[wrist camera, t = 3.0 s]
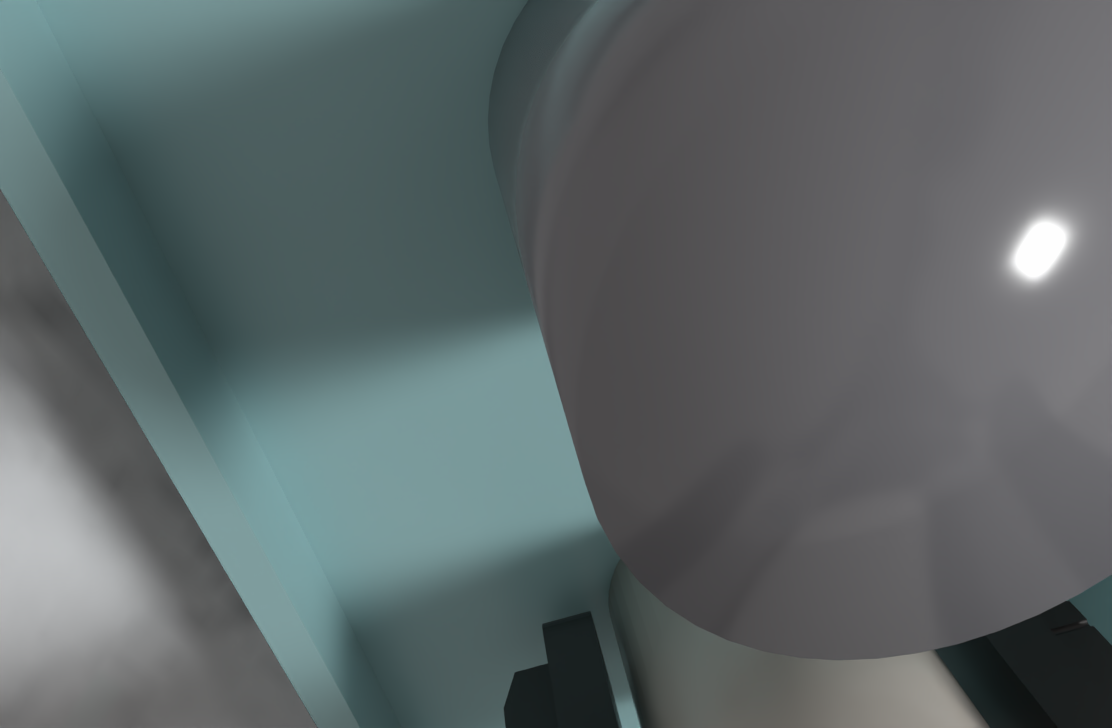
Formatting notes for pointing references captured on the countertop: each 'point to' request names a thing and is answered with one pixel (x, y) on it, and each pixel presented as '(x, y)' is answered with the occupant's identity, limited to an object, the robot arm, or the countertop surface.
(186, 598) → the countertop surface
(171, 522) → the countertop surface
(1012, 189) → the grey rounded cylinder
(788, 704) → the beige rounded cylinder
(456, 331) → the tray
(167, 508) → the countertop surface
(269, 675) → the countertop surface
